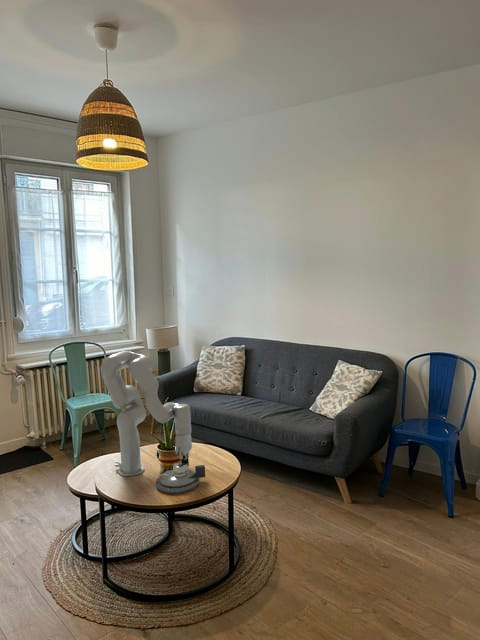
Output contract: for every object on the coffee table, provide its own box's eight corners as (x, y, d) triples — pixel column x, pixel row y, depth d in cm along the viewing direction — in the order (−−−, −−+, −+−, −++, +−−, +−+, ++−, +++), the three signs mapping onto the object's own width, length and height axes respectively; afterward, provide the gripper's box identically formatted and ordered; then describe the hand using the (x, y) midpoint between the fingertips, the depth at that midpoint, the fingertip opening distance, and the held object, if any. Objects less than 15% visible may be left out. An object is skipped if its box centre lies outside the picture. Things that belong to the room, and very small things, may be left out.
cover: (169, 476, 222) (169, 467, 222) (176, 469, 230) (176, 461, 229) (184, 478, 220) (184, 469, 220) (191, 471, 227) (190, 462, 227)
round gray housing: (152, 485, 217) (152, 474, 216) (169, 470, 233) (168, 460, 232) (193, 490, 211) (193, 479, 210) (207, 474, 227) (207, 464, 226)
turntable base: (148, 491, 216) (148, 486, 216) (167, 473, 235) (167, 468, 235) (189, 496, 210) (188, 491, 210) (205, 477, 229) (205, 472, 229)
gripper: (182, 424, 236) (184, 460, 238) (169, 434, 222) (171, 472, 224) (196, 425, 234) (198, 461, 236) (184, 435, 220) (186, 474, 222)
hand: (185, 466), depth 230 cm, fingers closed
